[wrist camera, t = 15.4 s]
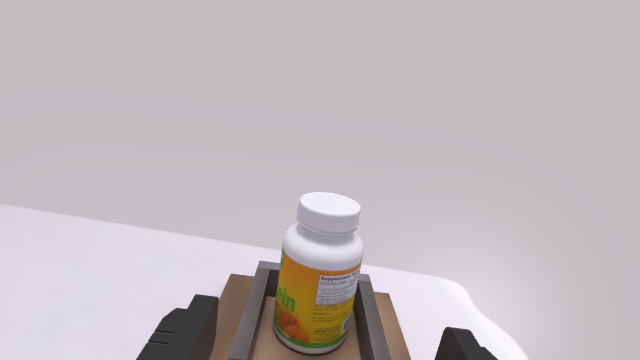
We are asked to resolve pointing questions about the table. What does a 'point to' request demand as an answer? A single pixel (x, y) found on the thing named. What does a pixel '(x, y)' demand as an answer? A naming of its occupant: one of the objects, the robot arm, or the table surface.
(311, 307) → the supplement bottle
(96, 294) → the table surface
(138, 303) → the table surface
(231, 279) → the u holder
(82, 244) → the table surface
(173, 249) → the table surface
